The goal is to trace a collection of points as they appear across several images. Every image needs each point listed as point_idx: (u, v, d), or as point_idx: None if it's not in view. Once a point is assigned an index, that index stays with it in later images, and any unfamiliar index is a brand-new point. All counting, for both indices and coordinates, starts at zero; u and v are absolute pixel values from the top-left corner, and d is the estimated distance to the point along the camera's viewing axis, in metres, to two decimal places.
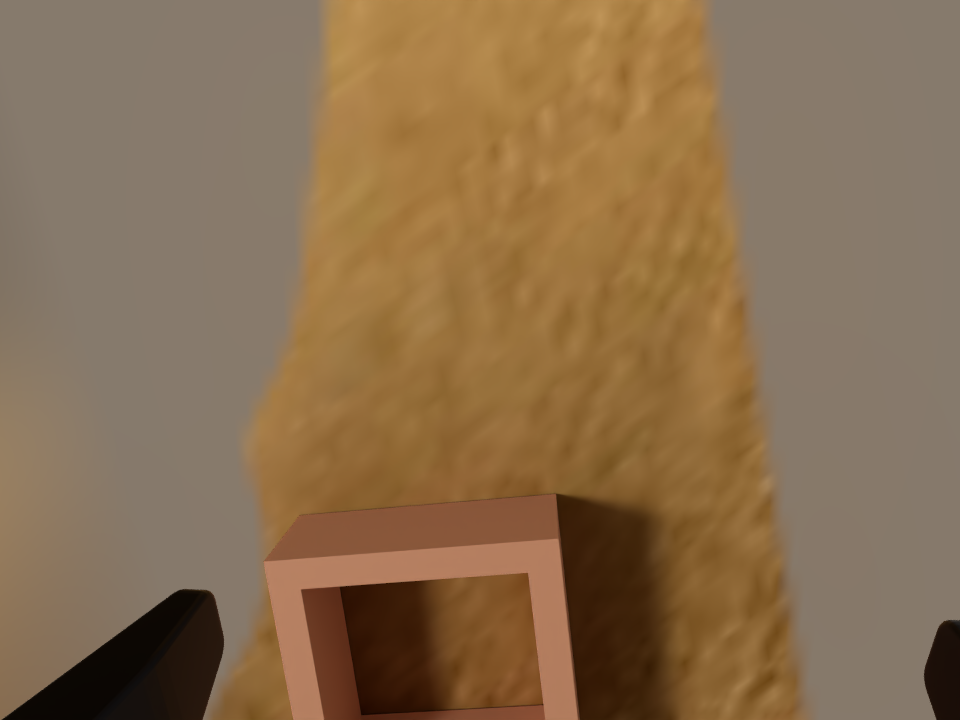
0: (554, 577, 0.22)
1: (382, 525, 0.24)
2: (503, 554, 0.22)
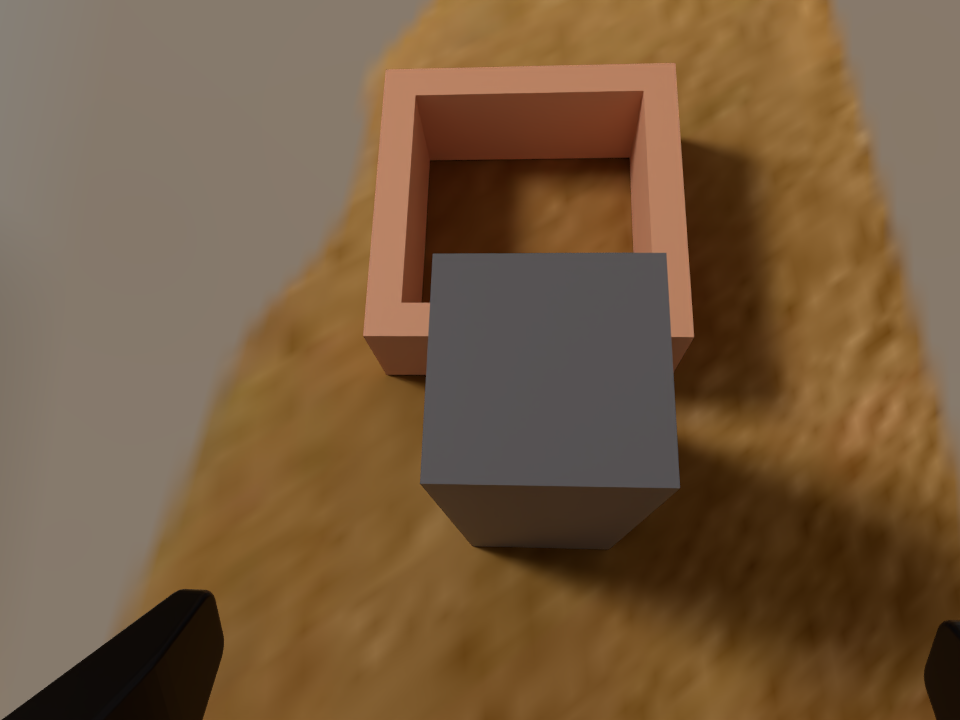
0: (669, 96, 0.23)
1: None
2: (620, 74, 0.23)
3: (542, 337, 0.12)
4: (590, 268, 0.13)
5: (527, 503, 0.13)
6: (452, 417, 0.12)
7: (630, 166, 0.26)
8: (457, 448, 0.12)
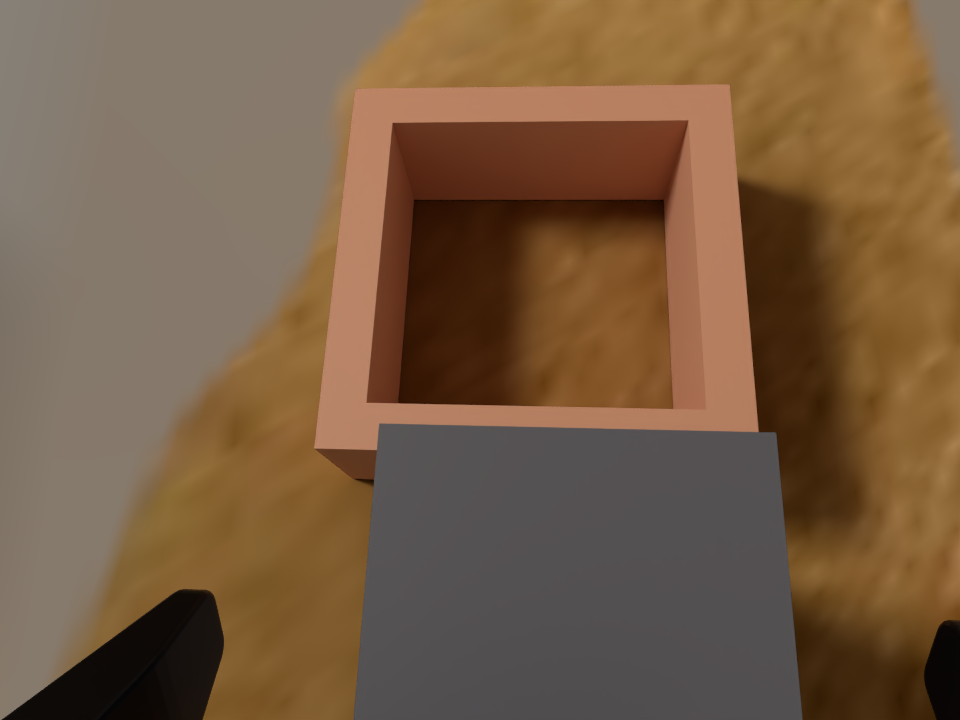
0: (722, 128, 0.17)
1: None
2: (658, 98, 0.18)
3: (564, 584, 0.07)
4: (646, 458, 0.07)
5: None
6: None
7: (665, 211, 0.20)
8: None
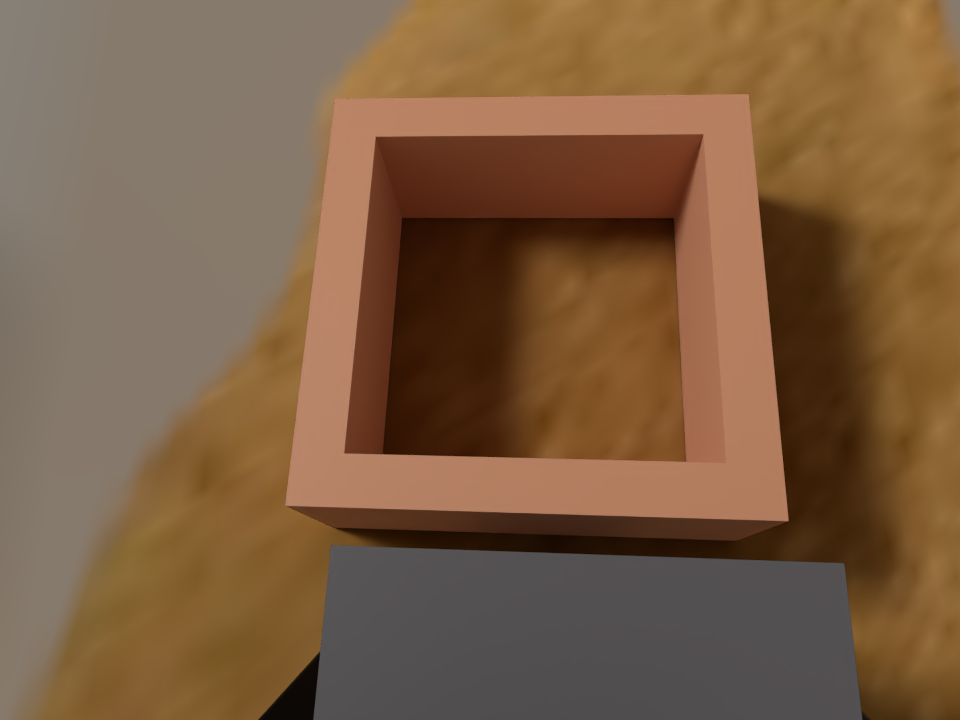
0: (741, 143, 0.16)
1: None
2: (669, 109, 0.16)
3: None
4: (676, 596, 0.06)
5: None
6: None
7: (675, 231, 0.19)
8: None
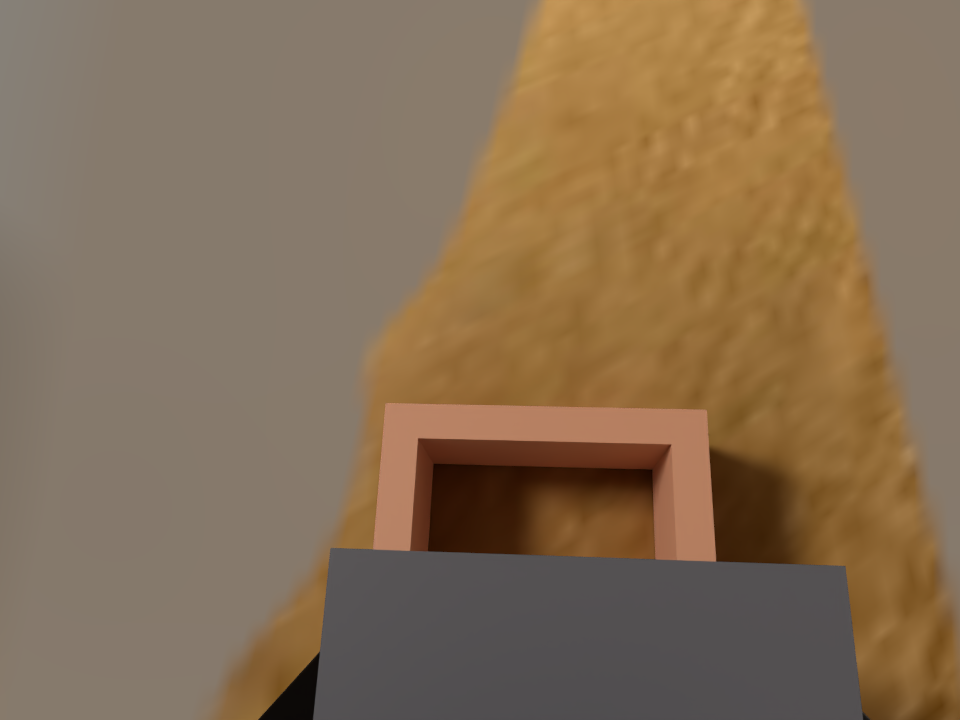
0: (700, 453, 0.20)
1: None
2: (645, 421, 0.21)
3: None
4: (676, 598, 0.06)
5: None
6: None
7: (653, 482, 0.23)
8: None
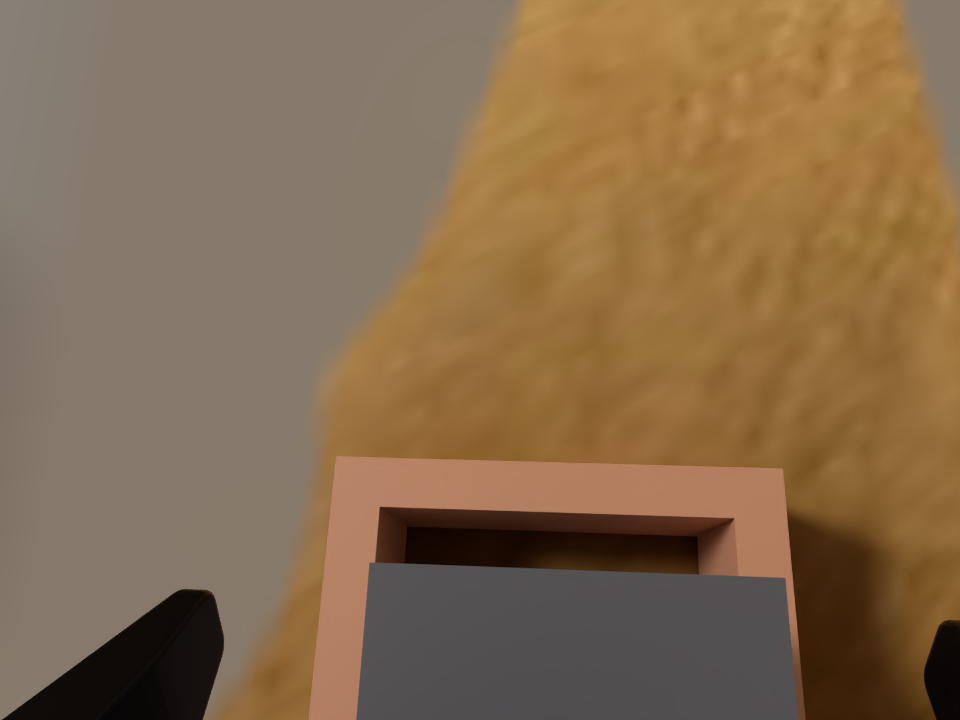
0: (776, 531, 0.14)
1: None
2: (697, 484, 0.15)
3: None
4: (650, 604, 0.07)
5: None
6: None
7: (699, 555, 0.18)
8: None
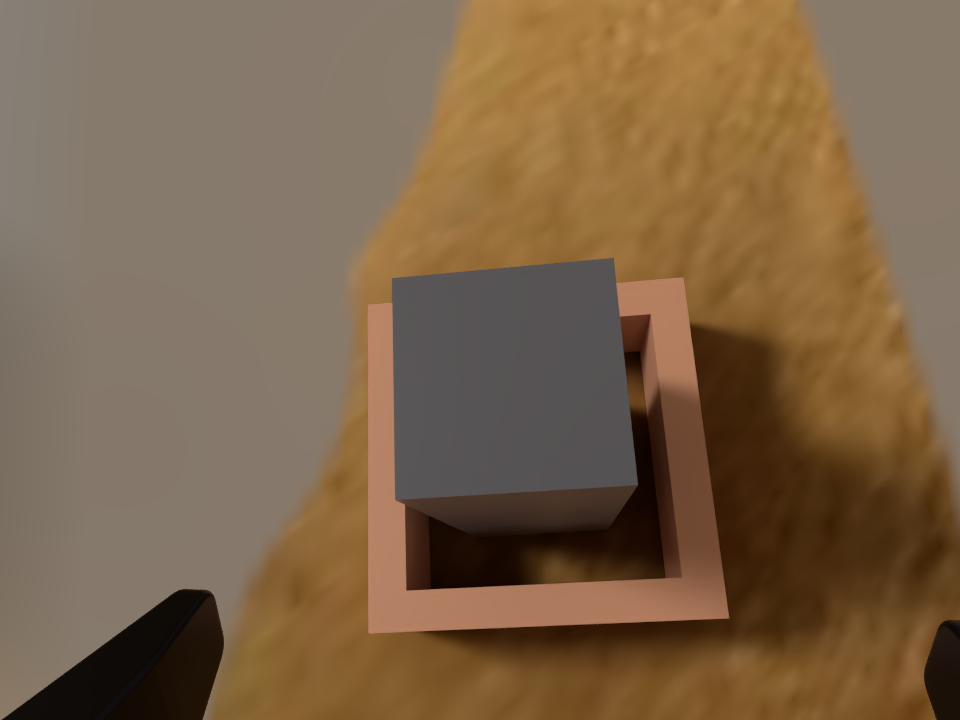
0: (680, 319, 0.20)
1: None
2: (624, 294, 0.21)
3: (501, 349, 0.13)
4: (541, 279, 0.13)
5: (504, 505, 0.14)
6: (420, 434, 0.13)
7: (641, 363, 0.24)
8: (427, 463, 0.13)
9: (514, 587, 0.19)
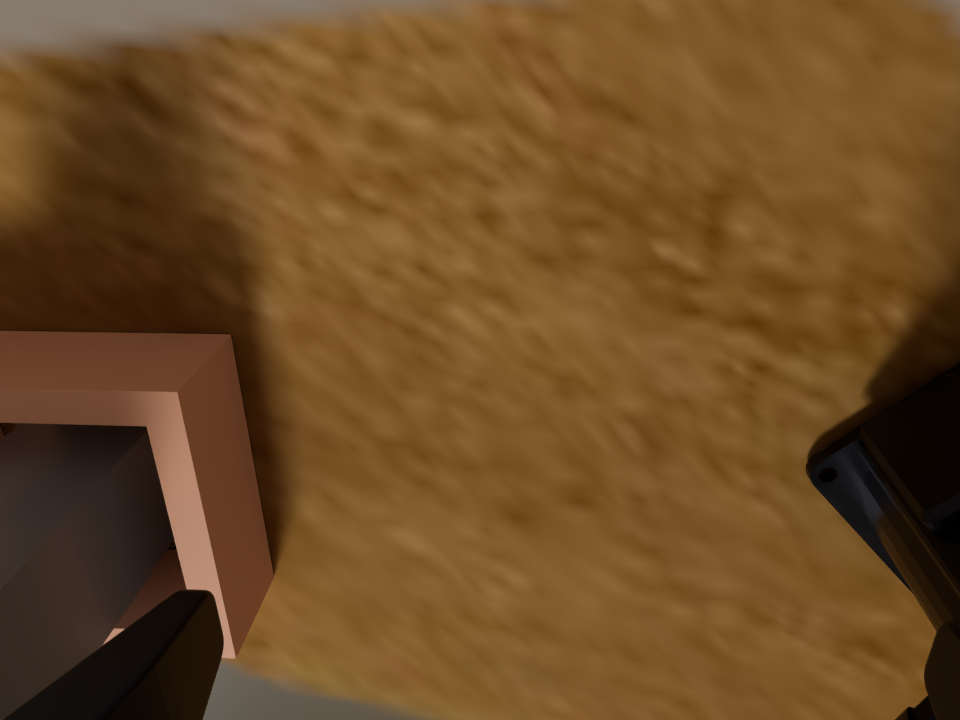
0: None
1: None
2: None
3: None
4: None
5: None
6: None
7: None
8: None
9: (180, 556, 0.21)
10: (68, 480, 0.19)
